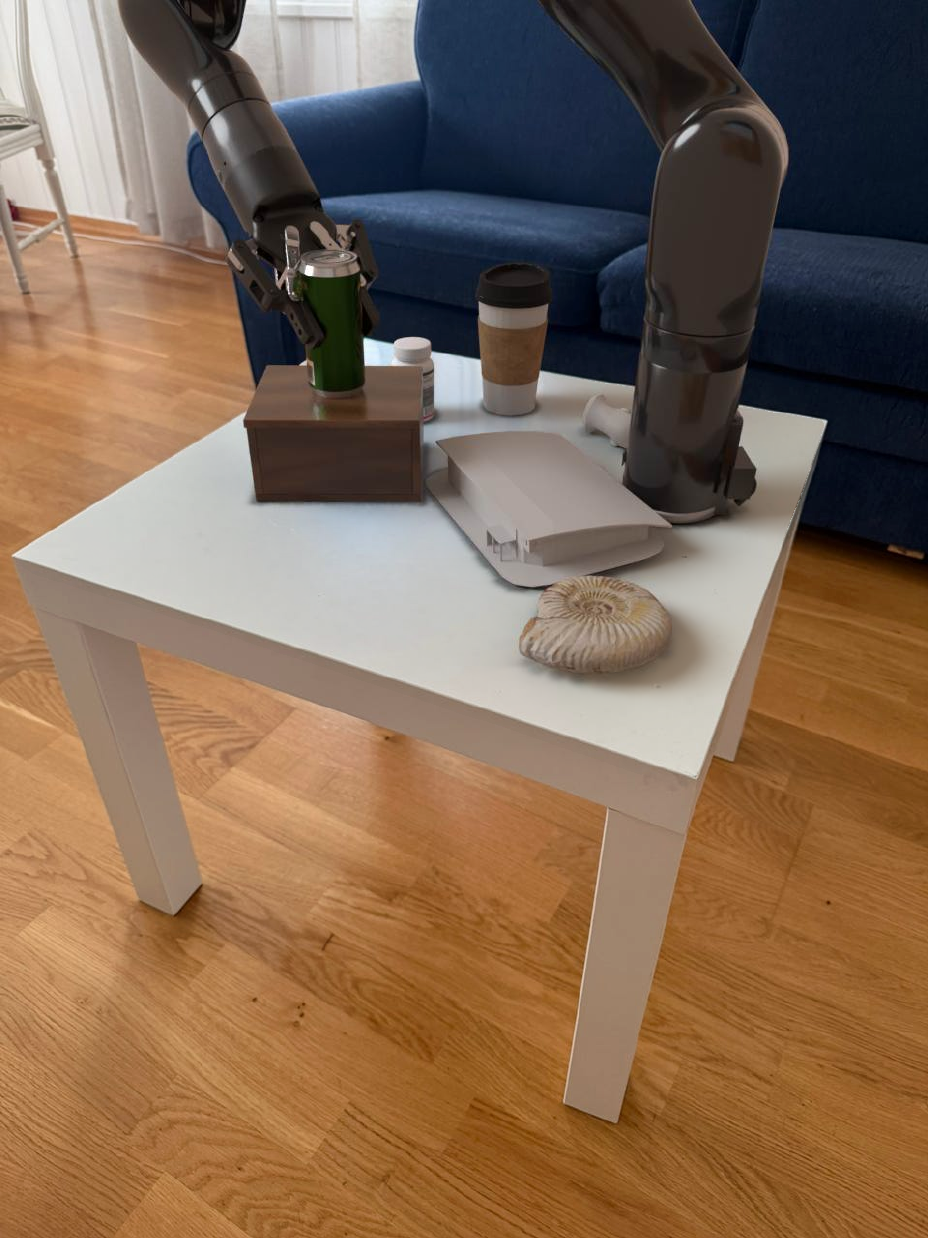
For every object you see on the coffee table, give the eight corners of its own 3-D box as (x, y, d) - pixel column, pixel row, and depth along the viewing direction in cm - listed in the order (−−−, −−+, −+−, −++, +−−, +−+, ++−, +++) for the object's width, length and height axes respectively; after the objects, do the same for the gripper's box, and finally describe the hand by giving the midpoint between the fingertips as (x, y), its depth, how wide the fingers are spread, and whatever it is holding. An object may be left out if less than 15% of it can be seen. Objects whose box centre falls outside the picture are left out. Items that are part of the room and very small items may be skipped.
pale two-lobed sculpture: (650, 458, 97) (616, 455, 94) (604, 430, 102) (570, 426, 99) (666, 420, 95) (632, 415, 92) (617, 393, 100) (584, 388, 97)
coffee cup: (558, 401, 106) (568, 268, 97) (523, 426, 100) (530, 287, 92) (496, 386, 110) (500, 257, 101) (459, 409, 104) (460, 274, 95)
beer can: (324, 404, 83) (314, 268, 76) (299, 384, 87) (287, 253, 79) (376, 392, 85) (370, 259, 78) (349, 374, 89) (342, 245, 82)
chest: (421, 502, 86) (420, 425, 81) (256, 501, 86) (245, 424, 81) (423, 445, 96) (422, 373, 92) (276, 444, 96) (267, 373, 91)
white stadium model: (516, 594, 73) (516, 552, 71) (417, 475, 90) (414, 439, 88) (678, 549, 78) (683, 509, 75) (554, 445, 95) (555, 409, 93)
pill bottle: (388, 409, 104) (385, 337, 99) (428, 405, 105) (427, 333, 100) (398, 426, 100) (395, 351, 95) (439, 421, 101) (439, 347, 96)
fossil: (657, 680, 61) (525, 611, 62) (627, 727, 64) (502, 661, 65) (692, 586, 70) (576, 528, 71) (664, 631, 73) (553, 575, 74)
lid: (419, 428, 81) (419, 420, 80) (243, 428, 80) (242, 419, 80) (422, 373, 92) (422, 365, 91) (267, 372, 91) (266, 364, 91)
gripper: (198, 150, 75) (290, 332, 75) (341, 135, 83) (426, 300, 82) (179, 208, 81) (264, 376, 81) (314, 189, 89) (392, 342, 89)
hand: (345, 337), depth 82 cm, fingers closed on beer can, 5 cm apart
